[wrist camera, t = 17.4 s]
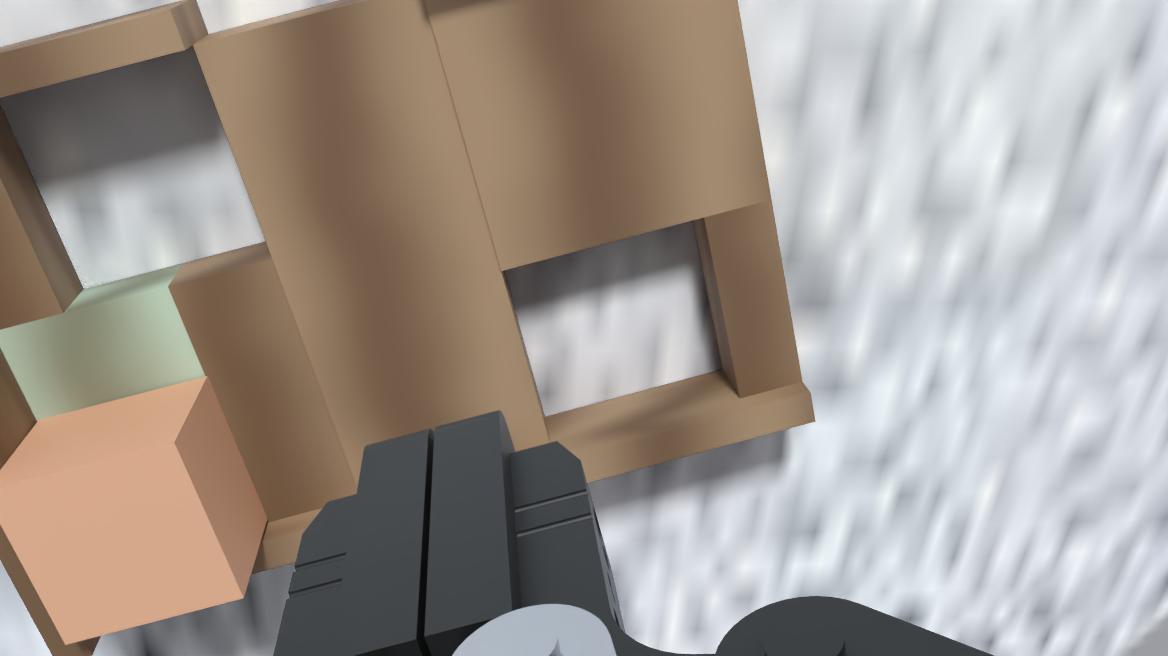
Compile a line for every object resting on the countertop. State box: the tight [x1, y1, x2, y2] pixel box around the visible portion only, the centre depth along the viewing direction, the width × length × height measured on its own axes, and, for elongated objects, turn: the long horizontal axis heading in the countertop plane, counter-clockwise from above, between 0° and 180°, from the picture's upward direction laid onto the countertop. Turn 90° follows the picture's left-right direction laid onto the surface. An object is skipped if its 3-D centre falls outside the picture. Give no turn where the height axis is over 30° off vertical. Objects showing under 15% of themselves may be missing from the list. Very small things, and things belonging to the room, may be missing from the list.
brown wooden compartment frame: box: [0, 0, 815, 656], centre depth 30 cm, size 23×16×5 cm
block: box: [0, 376, 268, 645], centre depth 31 cm, size 5×5×4 cm
